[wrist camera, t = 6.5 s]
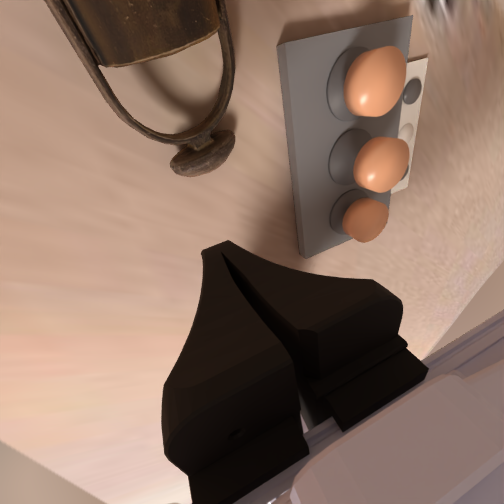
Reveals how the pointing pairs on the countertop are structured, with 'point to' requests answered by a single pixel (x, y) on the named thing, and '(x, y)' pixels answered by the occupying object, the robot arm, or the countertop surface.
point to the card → (411, 111)
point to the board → (331, 126)
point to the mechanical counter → (149, 48)
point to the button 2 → (375, 81)
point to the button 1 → (365, 219)
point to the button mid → (381, 163)
